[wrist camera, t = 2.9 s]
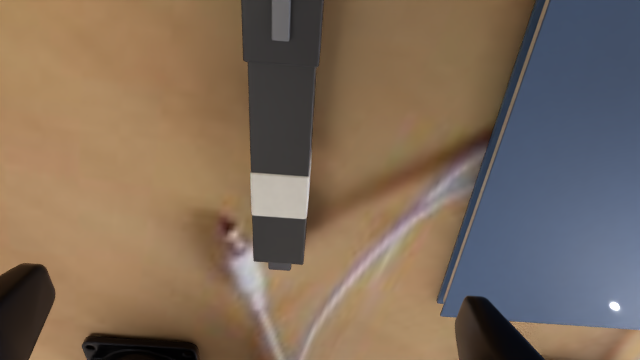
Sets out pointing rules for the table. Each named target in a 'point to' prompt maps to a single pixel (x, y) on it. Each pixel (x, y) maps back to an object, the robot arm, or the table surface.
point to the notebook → (560, 177)
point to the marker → (281, 121)
